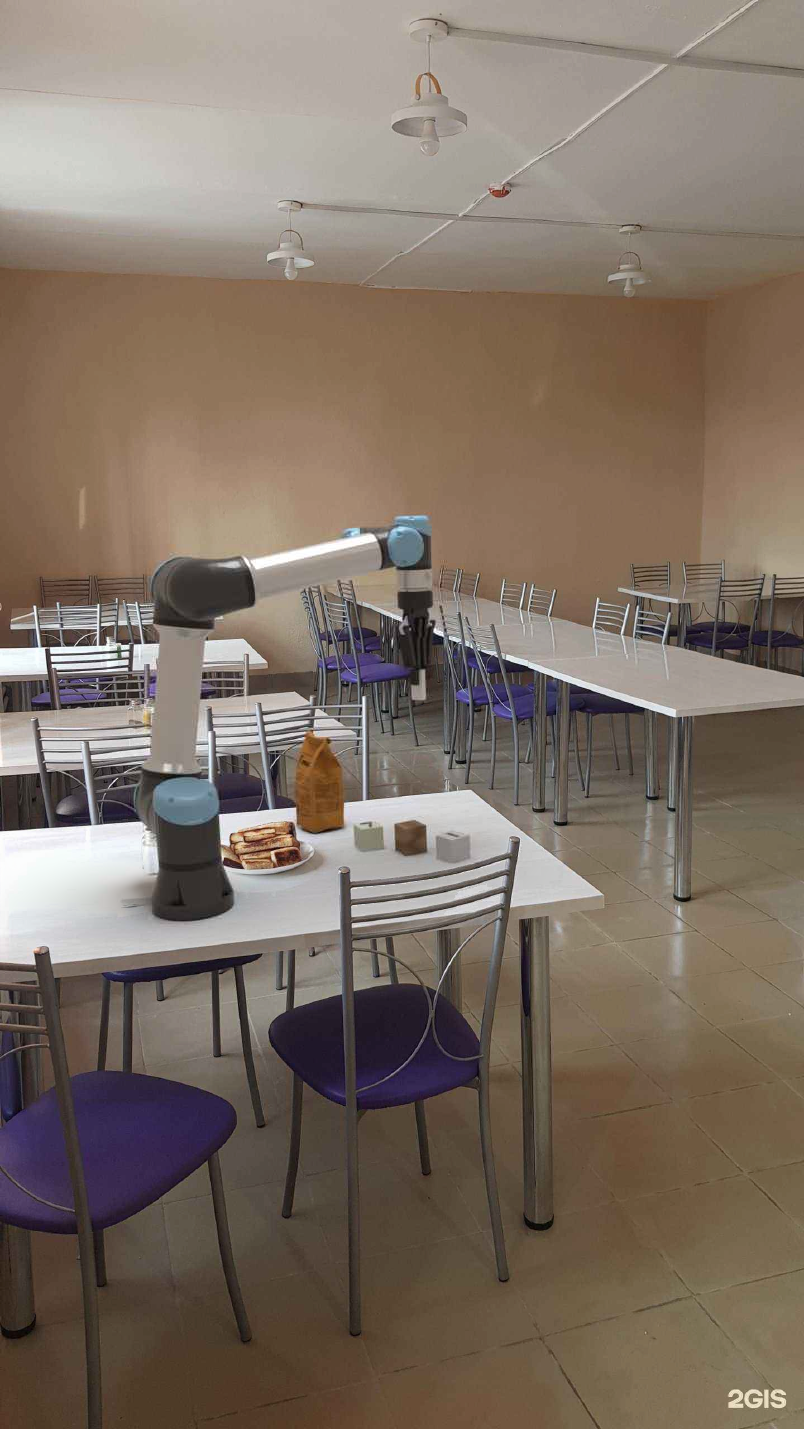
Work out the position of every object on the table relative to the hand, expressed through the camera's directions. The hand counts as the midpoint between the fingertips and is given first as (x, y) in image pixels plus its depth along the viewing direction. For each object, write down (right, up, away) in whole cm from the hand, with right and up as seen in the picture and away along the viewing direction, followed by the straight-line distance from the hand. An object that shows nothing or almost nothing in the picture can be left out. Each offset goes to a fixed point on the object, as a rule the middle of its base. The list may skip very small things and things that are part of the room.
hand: (418, 699), depth 229 cm
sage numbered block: (-11, -32, +2) cm, 34 cm away
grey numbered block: (+7, -33, -7) cm, 35 cm away
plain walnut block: (-2, -33, -2) cm, 33 cm away
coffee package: (-23, -30, +19) cm, 42 cm away
